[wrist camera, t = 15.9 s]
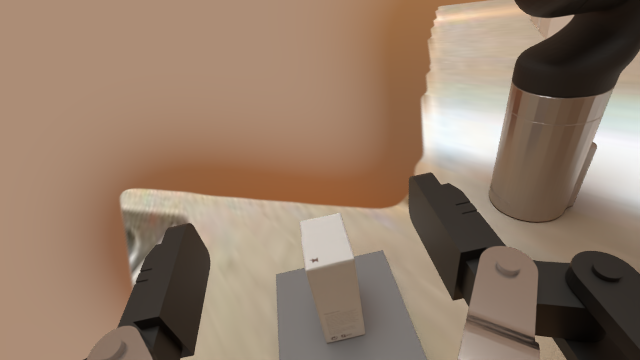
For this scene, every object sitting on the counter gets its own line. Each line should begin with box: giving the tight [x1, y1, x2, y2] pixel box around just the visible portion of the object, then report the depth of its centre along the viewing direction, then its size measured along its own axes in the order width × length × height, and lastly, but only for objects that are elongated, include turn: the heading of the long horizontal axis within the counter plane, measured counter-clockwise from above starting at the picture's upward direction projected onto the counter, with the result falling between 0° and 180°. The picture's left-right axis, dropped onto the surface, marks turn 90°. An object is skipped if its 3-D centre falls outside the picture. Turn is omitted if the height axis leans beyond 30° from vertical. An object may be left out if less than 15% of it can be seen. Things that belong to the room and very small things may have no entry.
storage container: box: [531, 15, 574, 39], centre depth 98 cm, size 25×11×11 cm, turn 162°
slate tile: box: [276, 250, 427, 360], centre depth 35 cm, size 14×14×1 cm
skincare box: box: [300, 213, 365, 343], centre depth 31 cm, size 6×4×12 cm
